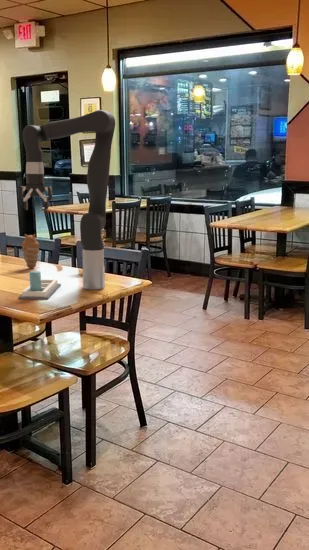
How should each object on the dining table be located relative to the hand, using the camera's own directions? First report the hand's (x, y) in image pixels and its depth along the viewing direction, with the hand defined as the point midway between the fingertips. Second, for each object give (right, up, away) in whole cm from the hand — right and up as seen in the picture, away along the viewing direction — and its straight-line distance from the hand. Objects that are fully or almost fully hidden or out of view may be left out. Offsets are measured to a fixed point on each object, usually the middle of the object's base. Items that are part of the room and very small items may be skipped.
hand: (36, 210), depth 236 cm
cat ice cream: (-11, -25, +40) cm, 49 cm away
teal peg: (+4, -36, -17) cm, 40 cm away
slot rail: (+4, -36, -9) cm, 37 cm away
